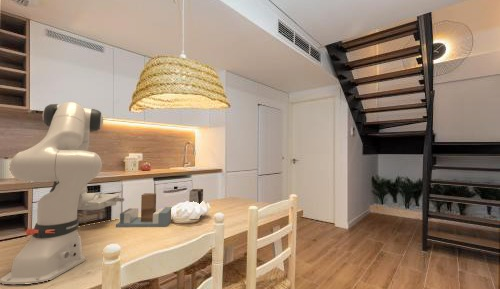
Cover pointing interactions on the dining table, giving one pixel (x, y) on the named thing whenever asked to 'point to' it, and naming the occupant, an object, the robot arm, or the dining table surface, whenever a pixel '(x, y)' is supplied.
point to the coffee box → (196, 195)
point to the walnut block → (148, 207)
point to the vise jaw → (129, 215)
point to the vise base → (161, 220)
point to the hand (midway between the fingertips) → (119, 201)
